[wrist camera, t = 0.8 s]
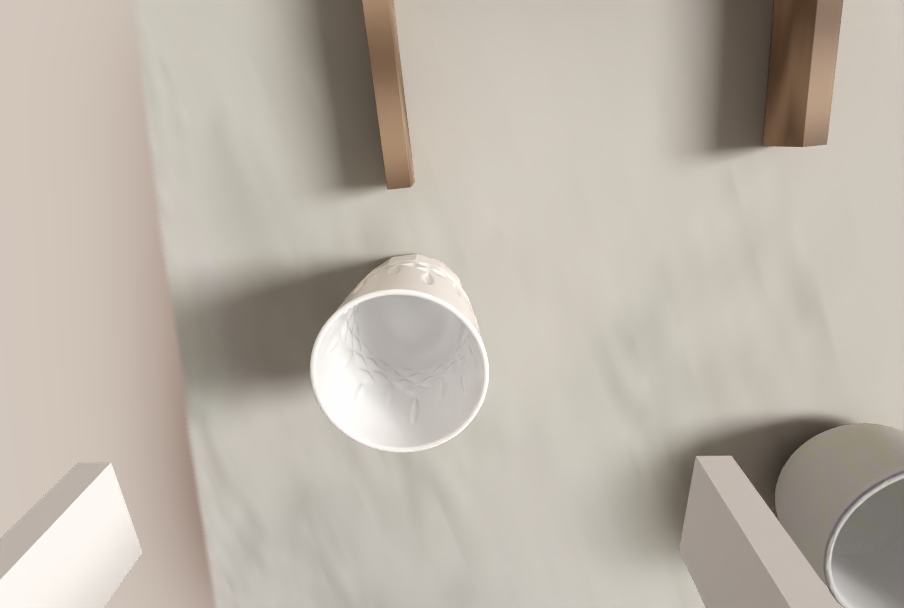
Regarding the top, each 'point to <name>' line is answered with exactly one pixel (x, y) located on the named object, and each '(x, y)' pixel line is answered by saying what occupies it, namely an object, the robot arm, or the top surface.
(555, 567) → the top surface
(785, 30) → the brown wooden open frame
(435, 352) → the white cup
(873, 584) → the teacup
